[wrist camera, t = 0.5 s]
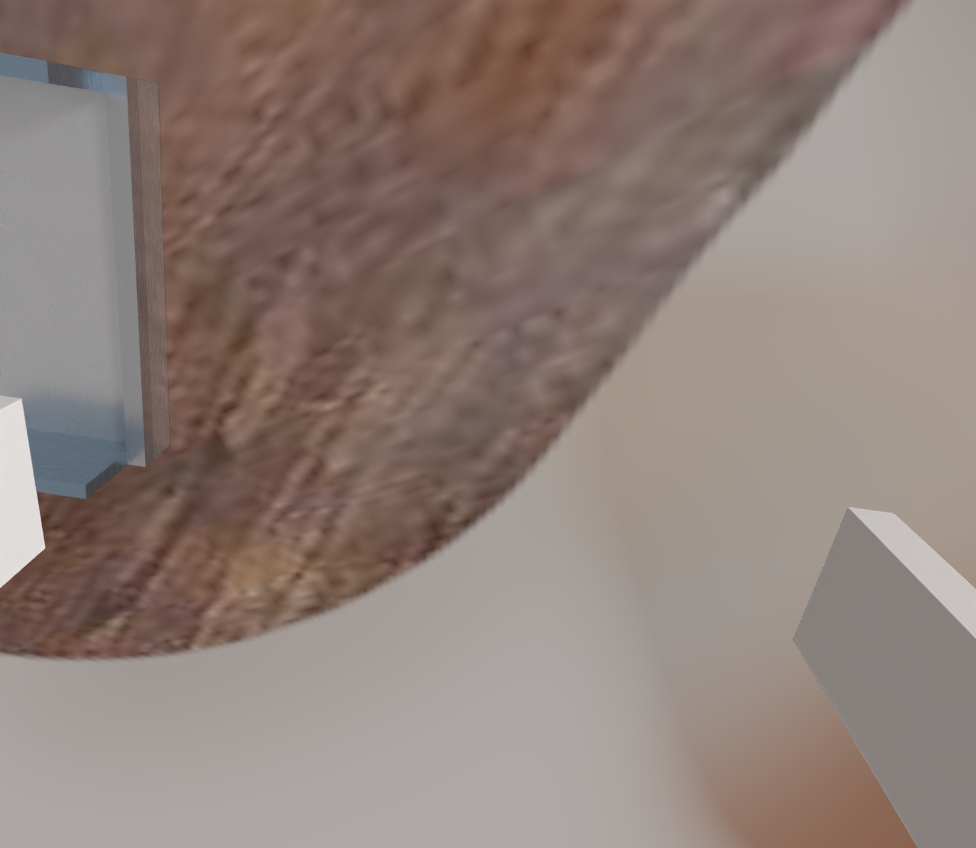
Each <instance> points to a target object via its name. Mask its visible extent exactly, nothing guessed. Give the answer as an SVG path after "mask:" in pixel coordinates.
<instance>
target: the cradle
mask: <svg viewBox="0 0 976 848" xmlns="http://www.w3.org/2000/svg"><path fill="white" fill-rule="evenodd" d="M0 396H7V397H15V398H22V404H23V410H24V417H25V423H26V429H27V436H28V442H29V448H30V455H31V461H32V467H33V474H34V480H35V486H36V492H41V493H48V494H55V495H62V496H69V497H76V498H83V499H87V498H88V497H90V496H91V495H92V494H93V493H94V492H96V491H97V490H98V489H99V488H100V487H101V486H103V485H104V484H105V483H106V482H107V481H109V480H110V479H111V478H112V477H113V476H115V475H116V474H117V473H118V472H119V471H120V470H122V469H123V468H124V467H125V466H126V465H135V466H142V467H146V466H147V465H148V464H149V463H150V462H152V461H153V460H154V459H155V458H156V457H157V456H158V455H159V454H161V453H162V452H163V451H164V450H165V449H166V448H167V447H168V446H170V430H169V399H168V368H167V336H166V305H165V274H164V243H163V212H162V181H161V150H160V119H159V87H158V83H154V82H149V81H145V80H140V79H135V78H130V77H125V76H119V75H114V74H108V73H103V72H98V71H93V70H88V69H83V68H78V67H73V66H68V65H64V64H59V63H54V62H49V61H44V60H38V59H32V58H27V57H21V56H16V55H10V54H4V53H0Z"/></svg>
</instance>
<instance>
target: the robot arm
mask: <svg viewBox="0 0 976 848" xmlns="http://www.w3.org/2000/svg"><path fill="white" fill-rule="evenodd" d="M44 549H45V543H44V537H43V531H42V524H41V518H40V512H39V505H38V499H37V493H36V486H35V480H34V474H33V467H32V461H31V455H30V448H29V442H28V436H27V429H26V423H25V417H24V410H23V404H22V398H15V397H7V396H0V588H1V587H2V586H3V585H4V584H5V583H6V582H7V581H8V580H10V579H11V578H12V577H13V576H14V575H15V574H16V573H18V572H19V571H20V570H21V569H22V568H23V567H24V566H25V565H27V564H28V563H29V562H30V561H31V560H32V559H33V558H35V557H36V556H37V555H38V554H39V553H40V552H41V551H42V550H44ZM793 641H794V642H795V644H796V646H797V647H798V649H799V651H800V652H801V654H802V656H803V657H804V659H805V661H806V662H807V664H808V665H809V667H810V669H811V671H812V672H813V674H814V676H815V677H816V679H817V681H818V682H819V684H820V686H821V687H822V689H823V691H824V692H825V694H826V696H827V697H828V699H829V701H830V702H831V704H832V706H833V707H834V709H835V711H836V712H837V714H838V716H839V717H840V719H841V721H842V722H843V724H844V726H845V727H846V729H847V731H848V732H849V734H850V736H851V737H852V739H853V740H854V742H855V744H856V746H857V747H858V749H859V751H860V752H861V754H862V756H863V757H864V759H865V761H866V762H867V764H868V766H869V767H870V769H871V771H872V773H873V774H874V776H875V777H876V779H877V781H878V782H879V784H880V786H881V788H882V789H883V791H884V793H885V794H886V796H887V798H888V799H889V801H890V803H891V804H892V806H893V808H894V809H895V811H896V812H897V814H898V816H899V818H900V819H901V821H902V823H903V824H904V826H905V827H906V829H907V831H908V833H909V834H910V836H911V838H912V839H913V841H914V842H915V844H916V846H917V847H918V848H976V589H975V588H974V587H973V586H972V585H971V584H970V583H969V582H967V581H966V580H965V579H964V578H963V577H962V576H961V575H960V574H959V573H958V572H957V571H956V570H955V569H953V568H952V567H951V566H950V565H949V564H948V563H947V562H946V561H945V560H944V559H943V558H942V557H940V556H939V555H938V554H937V553H936V552H935V551H934V550H933V549H932V548H931V547H930V546H929V545H927V544H926V543H925V542H924V541H923V540H922V539H921V538H920V537H919V536H918V535H917V534H916V533H914V532H913V531H912V530H911V529H910V528H909V527H908V526H907V525H906V524H905V523H904V522H903V521H901V520H900V519H899V518H898V517H897V516H896V515H895V514H894V513H889V512H881V511H873V510H866V509H858V508H851V507H848V508H847V511H846V513H845V516H844V518H843V520H842V523H841V525H840V528H839V530H838V532H837V535H836V537H835V540H834V542H833V545H832V547H831V549H830V552H829V554H828V556H827V559H826V561H825V564H824V566H823V568H822V571H821V573H820V576H819V578H818V580H817V583H816V585H815V588H814V590H813V592H812V595H811V597H810V600H809V602H808V605H807V607H806V609H805V612H804V614H803V617H802V619H801V621H800V624H799V626H798V629H797V631H796V633H795V636H794V639H793Z"/></svg>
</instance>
